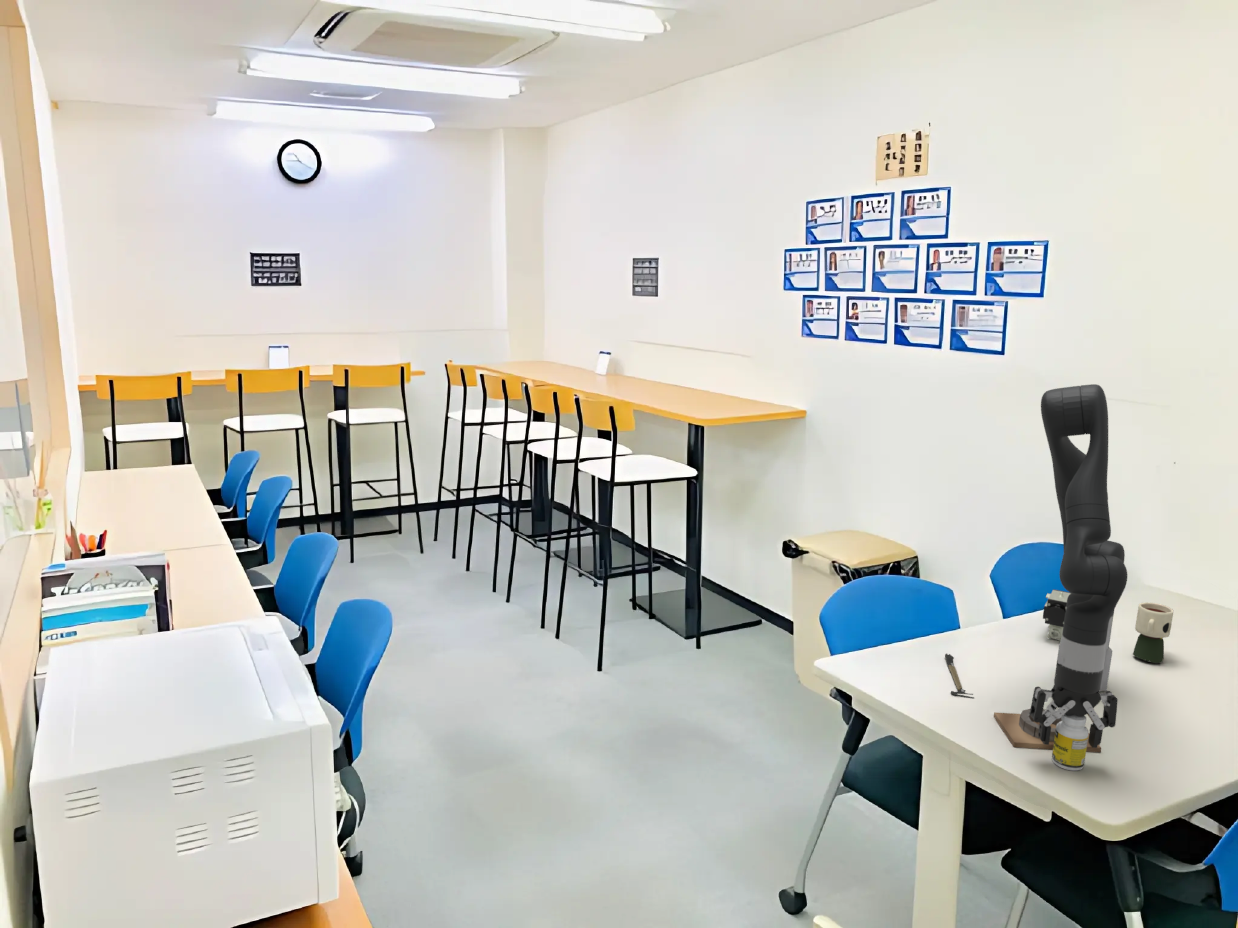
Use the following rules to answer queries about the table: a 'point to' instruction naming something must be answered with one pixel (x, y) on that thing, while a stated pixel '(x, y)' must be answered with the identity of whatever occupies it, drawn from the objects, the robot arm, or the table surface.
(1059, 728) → the supplement bottle
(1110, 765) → the table surface
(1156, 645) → the character mug
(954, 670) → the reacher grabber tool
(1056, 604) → the pneumatic valve
